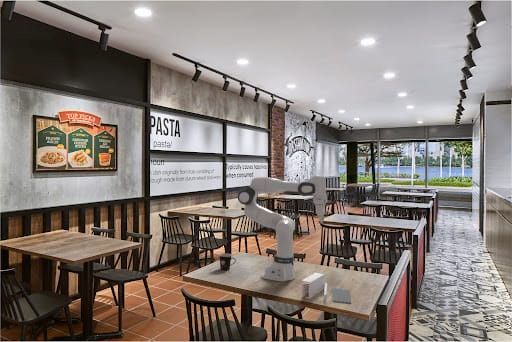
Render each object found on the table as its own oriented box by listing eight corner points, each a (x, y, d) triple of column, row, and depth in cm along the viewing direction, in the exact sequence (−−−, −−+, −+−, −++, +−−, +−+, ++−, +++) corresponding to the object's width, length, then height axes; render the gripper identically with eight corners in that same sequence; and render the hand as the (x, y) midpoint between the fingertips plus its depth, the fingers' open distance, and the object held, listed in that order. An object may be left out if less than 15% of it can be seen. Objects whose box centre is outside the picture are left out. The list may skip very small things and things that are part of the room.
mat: (332, 301, 192) (332, 300, 192) (332, 289, 212) (332, 288, 212) (351, 303, 190) (351, 302, 190) (349, 291, 210) (349, 290, 210)
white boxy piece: (315, 287, 215) (315, 272, 214) (323, 289, 211) (324, 274, 211) (300, 297, 198) (300, 280, 198) (309, 299, 195) (309, 283, 195)
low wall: (323, 300, 193) (324, 294, 193) (325, 288, 213) (325, 283, 213) (326, 301, 193) (326, 294, 193) (327, 288, 213) (327, 283, 213)
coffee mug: (216, 268, 249) (216, 254, 248) (226, 266, 254) (226, 252, 254) (226, 272, 240) (226, 258, 240) (236, 270, 246) (236, 256, 246)
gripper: (316, 199, 238) (318, 219, 238) (313, 202, 218) (315, 224, 218) (326, 198, 236) (327, 219, 236) (324, 201, 216) (325, 223, 216)
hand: (321, 221), depth 227 cm, fingers open, 8 cm apart
